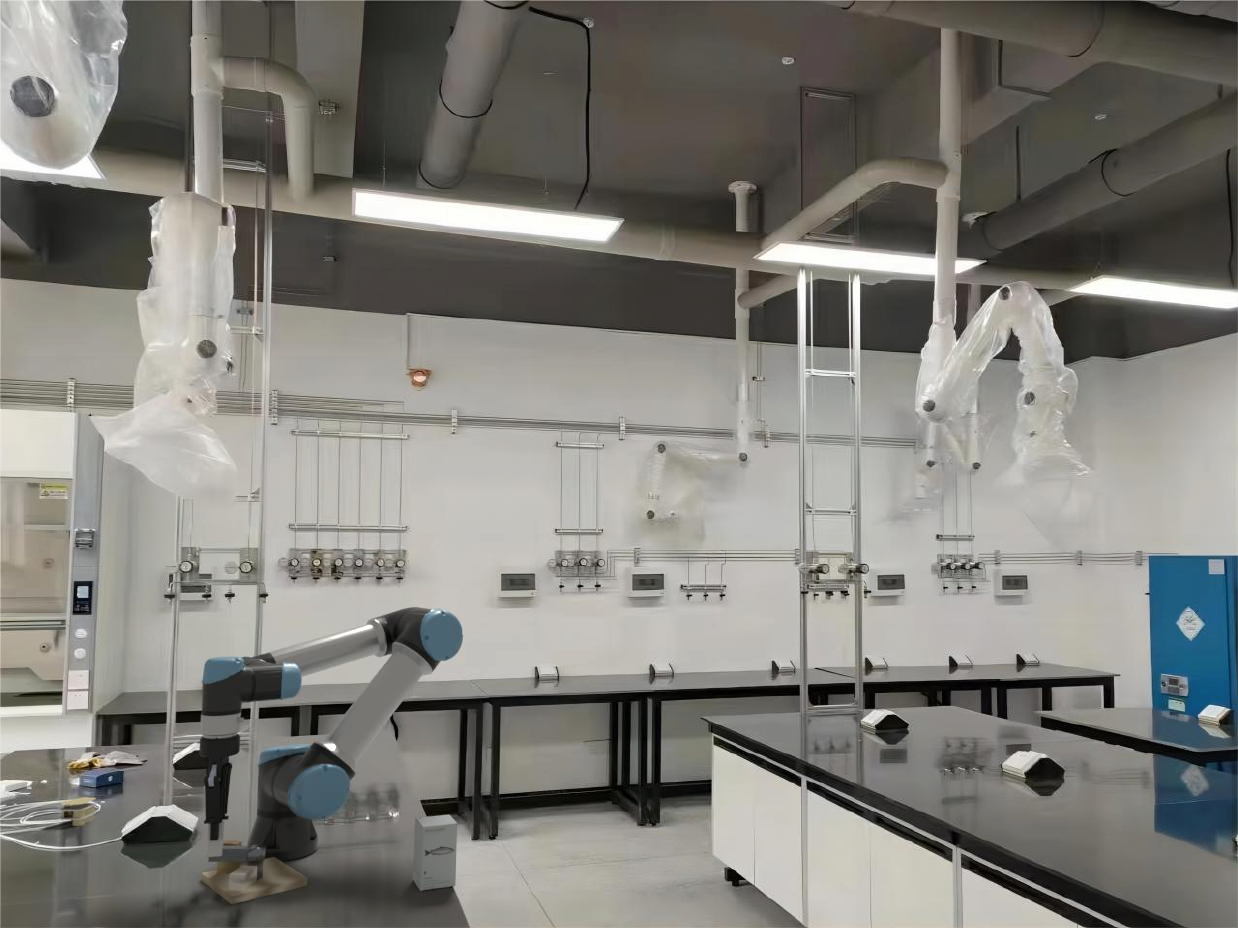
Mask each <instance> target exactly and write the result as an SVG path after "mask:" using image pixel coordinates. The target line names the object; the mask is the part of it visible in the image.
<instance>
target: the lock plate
mask: <svg viewBox="0 0 1238 928" xmlns="http://www.w3.org/2000/svg"><path fill="white" fill-rule="evenodd" d="M242 844H243V843H242V840H233V839H232V840H231V839H223V846H243V845H242ZM308 880H309V879H308V877H307V876H305V875H304V874H302V873H300V872H299V871H297V870H295V868H292V867H291V866H290V865H287V864H286V863H284V861H280V860H278V859H276V858H275V857H272V858H267V859H265V860H264V861H262V862H258V863H248V862H243V863H242V862H217V863H216V869H213V870H209V871H205V872H204V871H203V872H201V881H202V882H203V883H204V884H205V885H206V886H208V887H209V888H210V889H211V890H213V891H214V892H215V893H216V894H218V895H219V896H220V897H222V898H223V899H224V900H225V901H227V902H228V903H229V904H230V905H235V904H239V903H242V902H243V903H244V902H246V901H251V900H255V899H258V898H263V897H267V896H271V895H275V894H279V893H283V892H287V891H291V890H295V889H301V888H303V887H307V886H308Z"/></svg>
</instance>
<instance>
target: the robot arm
mask: <svg viewBox="0 0 1238 928" xmlns="http://www.w3.org/2000/svg"><path fill="white" fill-rule="evenodd" d="M463 638H464V634H463V627H462V624H461V622H460V620H459V618H458V617H457V616H456V615H455V614H453V613H452V612H451V611H449V610H448V611H447V610H443V609H442V608H425V607H418V606H411V607H406V608H402V609H398V610H396V611H392V612H390V613H386V614H382V615H379V616H377V617H376V616H375V617H373V618H370V619H368V620H367V622H366V624H364V625H360V626H357V627H353V628H350V629H347V630H343V631H339V632H336V633H332V634H329V635H326V636H322V637H318V638H315V639H311V640H307V641H303V642H301V643H298V644H295V645H294V644H293V645H290V646H287V647H283V648H279V649H275V650H273V651H269V652H266V653H263V654H262V653H261V654H258V655H254V656H252V657H250V656H219V657H211V658H209V659H207V660H206V661H205V662H204V665H203V673H202V674H203V675H202V680H201V684H202V693H201V695H202V697H201V713H200V728H199V730H200V731H199V734H200V735H202V736H201V738H199V754H198V755H200V756H201V757H203V758H208V759H209V762H208V763H209V764H208V765H207V766H206V770H205V775H206V776H204V779H203V783H204V791H205V792H204V795H205V799H204V800H205V804H204V805H205V820H204V821H203V824H204V825H207V824H208V826H207V844H206V845H207V847H206V848H207V849H206V858H209V857H216V856H222V854H223V840H224V836H225V835H224V831H225V821H226V820H227V821H228V820H229V817H230V815H227V814H228V812H229V811H228V806H229V796H230V795H229V794H230V787H231V786H230V785H231V776H232V770H233V764H232V762H230V757H232V756H233V757H234V756H235V755H237V754H239V753H240V749H241V748H240V747H241V735H240V734H238V733H239V732H241V723H243V722H244V721H245V718H244V717H243V716H241V715H242V710H243V709H242V704H244V703H252V702H265V701H266V702H267V701H277V700H280V701H283V700H286V699H293V698H295V697H296V696H298V695H299V693H300V691H301V689H302V681H303V679H302V677H306V676H309V675H312V674H316V673H319V672H322V671H326V670H329V669H332V668H336V667H339V666H342V665H345V664H348V663H352V662H355V661H357V660H358V661H359V660H361V659H364V658H368V657H372V656H376V657H377V658H382V657H385V656H388V655H391V656H389V658H387V660H386V662H385V663H384V664H383V665H382V666H381V668H380V669H379V670H378V671H377V672H376V674H375V675H374V676H373V678H372V679H371V680H370V681H369V683H368V684H367V686H366V687H365V688H364V689H363V691H361V693H360V694H359V696H358V697H357V698H356V699H355V701H353V703H352V704H351V706H350V707H349V709H348V710H347V711H346V712H345V713H344V715H343V716H342V717H341V718H340V720H339V721H338V722H337V723H336V725H335V726H334V727H333V729H332V730H331V731H330V732H329V734H328V735H327V736H326V738H324V739H322V740H321V739H320V740H316V741H313V742H312V744H311V743H299V744H298V743H297V744H289V745H279V746H274V747H269V748H265V749H263V750H261V752H260V754H259V760H258V764H257V768H258V773H257V775H258V776H257V800H256V801H257V802H256V818H255V821H254V823H253V825H252V829H251V831H250V835H249V837H248V840H247V844H246V846H251V845H257V844H261V845H265V846H266V848H265V859H267V858H272V857H275V858H276V859H278V860H280V861H281V862H284V861H290V860H296V859H300V858H303V857H306V856H308V855H311V854H313V853H315V852H316V851H317V850H318V849H319V836H318V832H317V830H316V826H315V821H319V820H324V819H328V818H330V817H332V816H334V815H335V814H336V813H339V811H340V810H342V808H343V806H344V805H345V804H346V802H347V801H348V798H349V797H350V792H351V790H350V788H351V781H352V780H353V779H354V777H355V776H356V774H357V762H358V761H359V759H360V757H362V755H363V753H364V752H365V751H366V750H367V748H369V746H370V744H371V743H372V742H373V741H374V739H375V738H376V736H377V735H378V734H379V733H380V732H381V730H382V729H383V728H384V726H385V725H386V724H387V722H388V720H389V719H390V718H391V717H392V715H393V714H394V713H395V711H397V709H398V708H399V706H400V705H401V704H402V703H403V701H404V700H405V698H406V697H407V696H408V695H409V693H410V692H411V691H412V689H413V688H414V687H415V685H416V684H417V683H418V681H419V680H420V679H421V677H423V676H429V675H432V673H433V672H434V671H435V670H436V669H437V667H438V666H439V664H440V662H446V661H448V660H450V659H452V658H454V657H455V656H456V655H458V653H459V651H460V649H461V647H462V645H463V640H464V639H463Z"/></svg>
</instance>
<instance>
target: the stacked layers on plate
mask: <svg viewBox="0 0 1238 928" xmlns="http://www.w3.org/2000/svg"><path fill="white" fill-rule="evenodd" d="M96 799H97V798H96V797H85V796H84V797H79V798H74V799H71V800H66V801H63V802H60V804H61V805H64V806H63V807H61V808H60V811H61V816H60V817H59V819H60V820H61V821H67V820H68V821H69V820H70V823H71V824H72V827H80V826H84V825H85V824H86V823H89V822H91V821H93V820H94V818H95V814H96V812H97V811H95V806H97V803H96V802H91V801H94V800H96Z"/></svg>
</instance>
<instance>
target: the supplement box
mask: <svg viewBox="0 0 1238 928" xmlns="http://www.w3.org/2000/svg"><path fill="white" fill-rule="evenodd" d="M413 839H414V840H413V841H414V842H413V843H414V845H413V868H412V869H413V872H412V873H413V874H412V875H413V876H412V879H413V882H414V884H415V885H416V886H417V888H418V890H419V891H420V892H423V891H426V890H427V891H428V890H433V889H443V888H449V887H451V885H452V888H453V887H454V888H455V886H456V882H457V879H456V876H457V871H456V869H457V844H458V843H457V839H458V822H457V821H456V820H455V819H454V818H453V817H452V816H451V815H450V814H442V815H434V816H432V815H431V816H430V815H429V816H421V817H415V818H414V838H413Z"/></svg>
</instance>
